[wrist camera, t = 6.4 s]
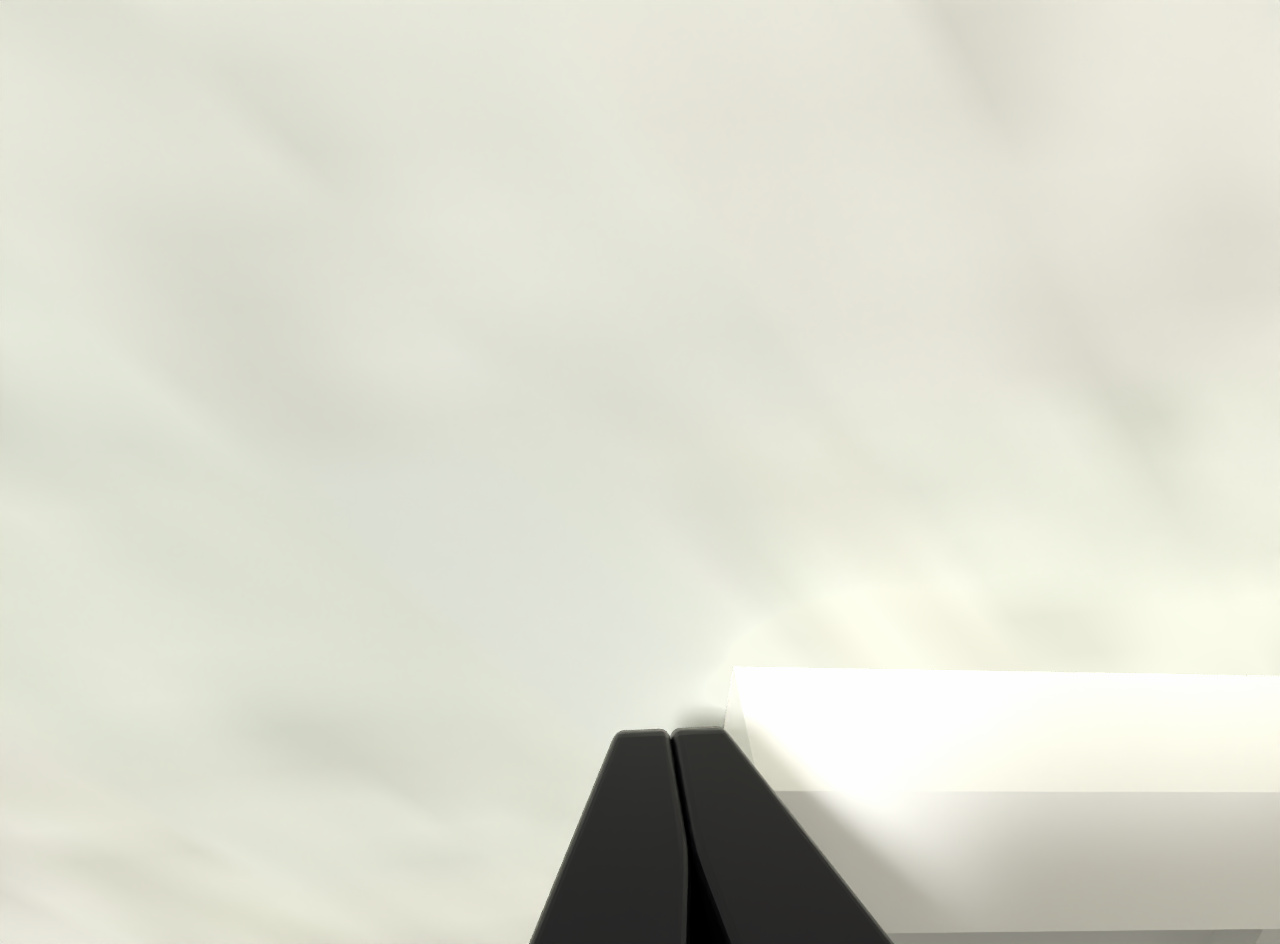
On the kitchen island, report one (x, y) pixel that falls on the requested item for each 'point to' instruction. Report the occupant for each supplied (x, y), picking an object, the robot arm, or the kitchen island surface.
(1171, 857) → the soap bar
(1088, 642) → the kitchen island surface
